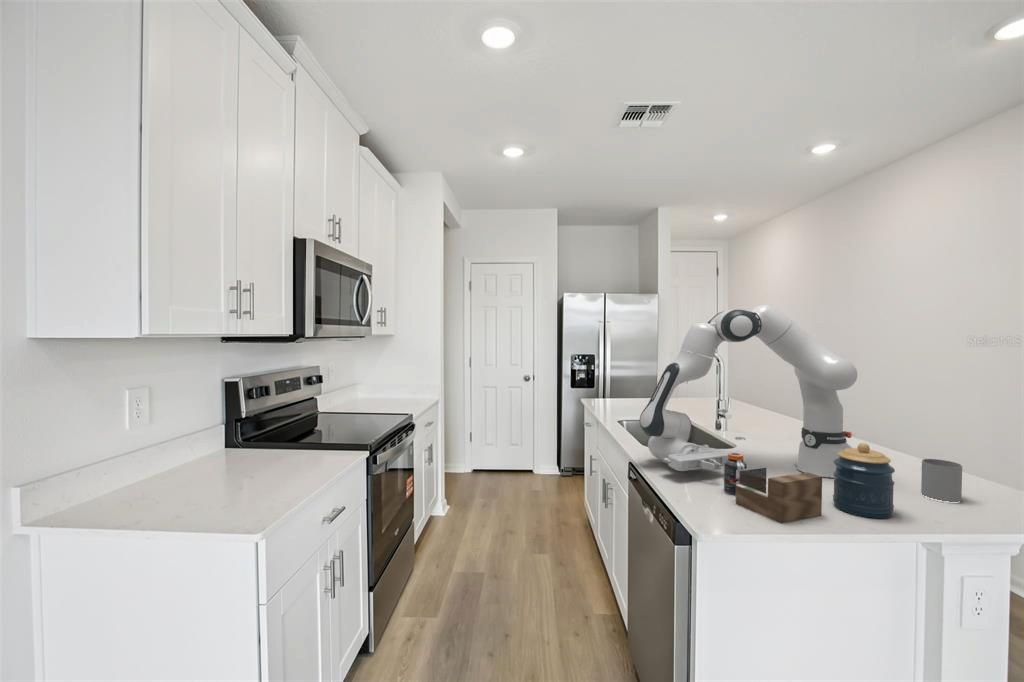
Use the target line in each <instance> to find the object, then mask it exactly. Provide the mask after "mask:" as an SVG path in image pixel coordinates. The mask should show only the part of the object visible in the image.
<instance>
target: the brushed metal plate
mask: <svg viewBox="0 0 1024 682" xmlns="http://www.w3.org/2000/svg"><path fill="white" fill-rule="evenodd" d="M730 482H736V485H738V484H742V485H744V486H747V487H750V488H753V489H755V490H758V491H760V492H763V493H765V494H767V467H766V466H763V465H762V466H756V467H747V469H740V470H736V479H730Z"/></svg>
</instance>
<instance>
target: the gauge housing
mask: <svg viewBox="0 0 1024 682" xmlns="http://www.w3.org/2000/svg"><path fill="white" fill-rule="evenodd" d="M822 499H823V477H822V476H818V475H815V474H812V473H808V472H806V473H804V472H800V473H799V472H798V473H794V474H788V475H787V474H786V475H781V476H773V477H768V478H767V493H766V494H765V493H763V492H760V491H758V490H755V489H753V488H750V487H747V486H744V485H742V484H738V485H736V495H735V504H736V505H737V506H741V507H742V506H743V507H742V508H745V509H747V510H749V509H750V510H749V511H752V512H754V513H756V512H757V514H758V513H759V514H758V515H761V516H763V515H764V517H765V516H766V518H768V519H770V520H773V521H775V522H777V523H780V524H784V523H791V522H795V521H802V520H805V519H811V517H812V518H815V517H816V516H817V517H821V516H820V515H822V511H823V510H822V507H823V506H822V504H823V500H822Z"/></svg>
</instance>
